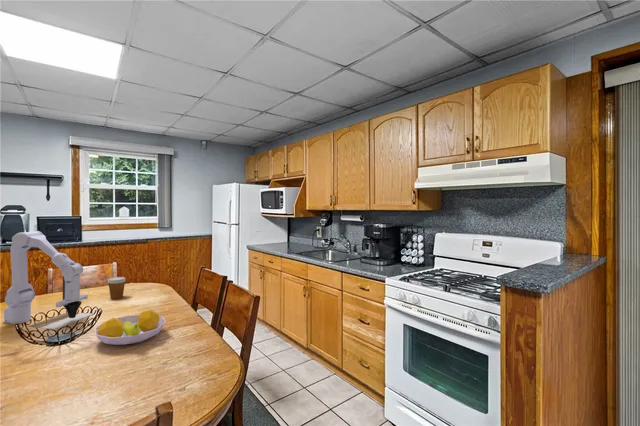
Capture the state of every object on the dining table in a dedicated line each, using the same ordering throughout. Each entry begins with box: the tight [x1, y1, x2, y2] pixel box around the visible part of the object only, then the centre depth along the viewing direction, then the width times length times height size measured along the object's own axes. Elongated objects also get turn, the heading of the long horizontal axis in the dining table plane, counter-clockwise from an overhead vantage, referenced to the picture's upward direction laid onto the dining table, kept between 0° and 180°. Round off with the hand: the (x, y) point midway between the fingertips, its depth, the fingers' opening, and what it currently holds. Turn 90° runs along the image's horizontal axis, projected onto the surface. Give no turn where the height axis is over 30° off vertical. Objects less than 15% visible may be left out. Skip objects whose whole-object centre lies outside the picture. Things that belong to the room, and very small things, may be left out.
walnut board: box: [26, 311, 80, 329], centre depth 152 cm, size 7×20×1 cm, turn 170°
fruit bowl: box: [94, 309, 167, 346], centre depth 135 cm, size 28×27×11 cm
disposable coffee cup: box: [107, 276, 127, 300], centre depth 192 cm, size 10×10×12 cm
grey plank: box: [41, 312, 95, 330], centre depth 151 cm, size 8×20×1 cm, turn 170°
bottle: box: [62, 275, 65, 300], centre depth 182 cm, size 7×7×20 cm
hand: (72, 317), depth 151 cm, fingers closed
